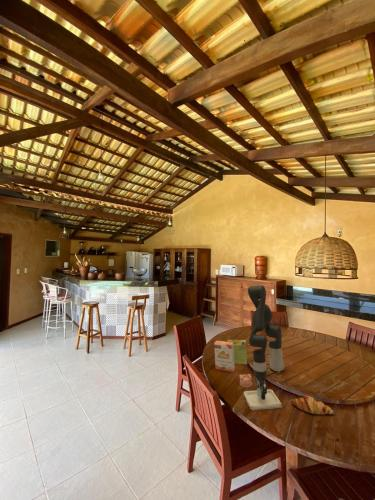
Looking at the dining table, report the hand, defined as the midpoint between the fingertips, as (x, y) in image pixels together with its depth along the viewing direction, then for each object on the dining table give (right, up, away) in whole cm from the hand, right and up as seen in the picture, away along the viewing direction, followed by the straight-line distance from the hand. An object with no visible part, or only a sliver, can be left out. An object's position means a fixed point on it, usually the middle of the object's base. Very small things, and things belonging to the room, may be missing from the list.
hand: (261, 395), depth 138 cm
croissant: (+25, -2, -9) cm, 27 cm away
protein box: (-3, -4, +52) cm, 52 cm away
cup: (-5, -4, +19) cm, 20 cm away
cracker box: (-16, -5, +39) cm, 43 cm away
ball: (0, +2, 0) cm, 2 cm away
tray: (0, -3, 0) cm, 3 cm away
